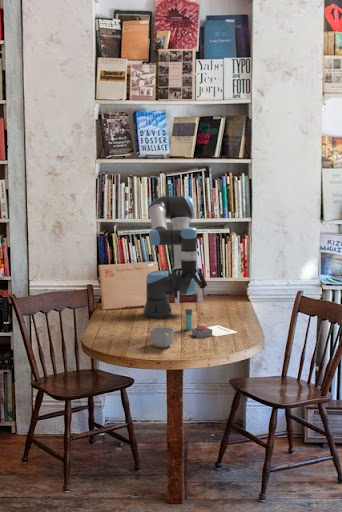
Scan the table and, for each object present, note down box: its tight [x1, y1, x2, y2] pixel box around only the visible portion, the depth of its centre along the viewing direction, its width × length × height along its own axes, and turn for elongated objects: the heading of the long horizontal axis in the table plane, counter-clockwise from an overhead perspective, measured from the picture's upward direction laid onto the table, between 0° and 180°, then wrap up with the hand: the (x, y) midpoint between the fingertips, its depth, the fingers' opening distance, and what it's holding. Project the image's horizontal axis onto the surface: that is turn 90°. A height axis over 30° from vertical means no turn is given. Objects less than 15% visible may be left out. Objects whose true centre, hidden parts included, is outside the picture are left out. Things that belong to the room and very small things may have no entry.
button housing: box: [191, 327, 213, 339], centre depth 353 cm, size 7×7×3 cm
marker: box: [184, 308, 193, 331], centre depth 362 cm, size 3×3×10 cm
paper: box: [207, 324, 239, 338], centre depth 360 cm, size 16×13×1 cm
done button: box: [196, 323, 208, 331], centre depth 352 cm, size 5×5×3 cm
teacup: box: [149, 326, 175, 349], centre depth 333 cm, size 14×11×8 cm
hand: (188, 302), depth 361 cm, fingers open, 13 cm apart
